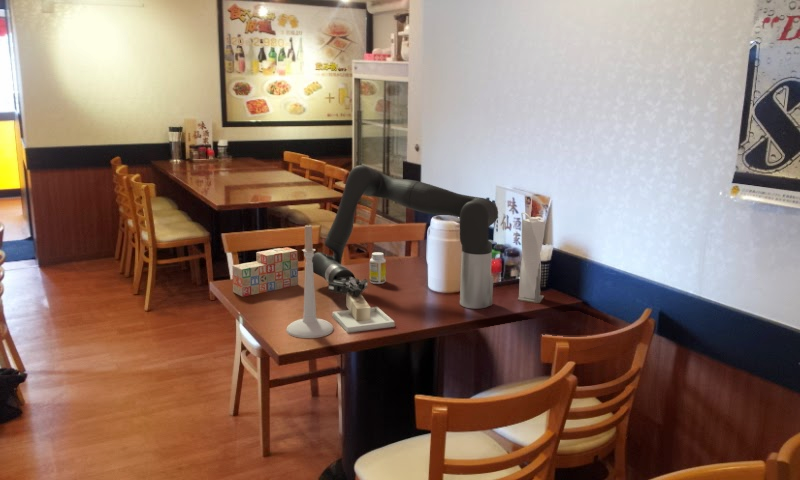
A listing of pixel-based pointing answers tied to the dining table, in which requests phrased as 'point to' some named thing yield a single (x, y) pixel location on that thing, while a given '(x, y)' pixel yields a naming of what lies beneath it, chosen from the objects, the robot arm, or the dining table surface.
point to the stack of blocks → (266, 272)
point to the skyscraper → (531, 259)
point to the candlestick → (309, 300)
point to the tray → (351, 325)
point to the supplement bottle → (377, 268)
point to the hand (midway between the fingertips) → (357, 293)
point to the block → (358, 307)
